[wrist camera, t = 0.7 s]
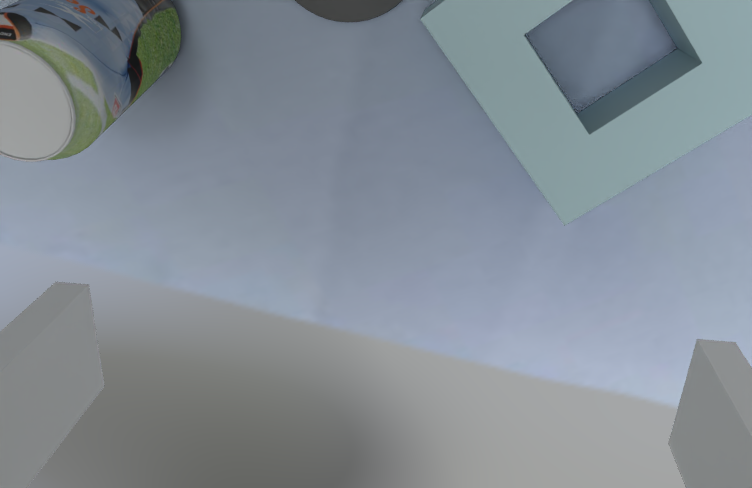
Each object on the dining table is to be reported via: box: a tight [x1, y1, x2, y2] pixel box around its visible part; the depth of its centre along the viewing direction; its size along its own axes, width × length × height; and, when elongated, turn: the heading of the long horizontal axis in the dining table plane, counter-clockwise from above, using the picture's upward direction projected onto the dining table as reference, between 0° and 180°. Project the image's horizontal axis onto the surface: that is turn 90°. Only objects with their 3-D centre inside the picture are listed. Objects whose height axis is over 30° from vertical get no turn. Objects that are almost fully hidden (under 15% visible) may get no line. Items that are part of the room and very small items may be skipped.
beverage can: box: [0, 0, 181, 162], centre depth 32 cm, size 6×7×12 cm
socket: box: [421, 0, 752, 226], centre depth 32 cm, size 12×12×4 cm
